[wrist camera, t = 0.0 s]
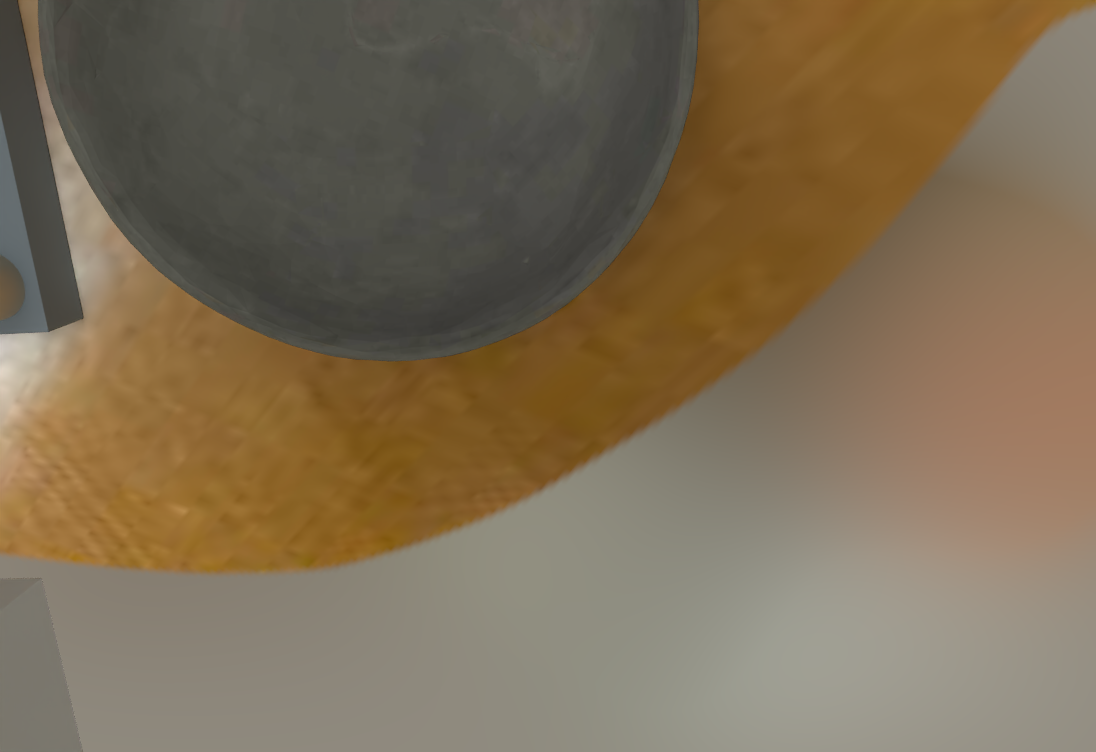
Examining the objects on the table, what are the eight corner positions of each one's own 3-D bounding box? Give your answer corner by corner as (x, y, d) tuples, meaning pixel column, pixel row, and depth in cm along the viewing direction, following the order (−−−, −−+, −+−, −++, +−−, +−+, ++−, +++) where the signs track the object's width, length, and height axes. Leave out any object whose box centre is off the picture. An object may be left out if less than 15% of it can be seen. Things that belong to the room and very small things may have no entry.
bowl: (272, -383, 34) (159, -524, 26) (802, -104, 34) (844, -161, 27) (91, 171, 40) (-43, 190, 32) (542, 398, 41) (516, 468, 33)
